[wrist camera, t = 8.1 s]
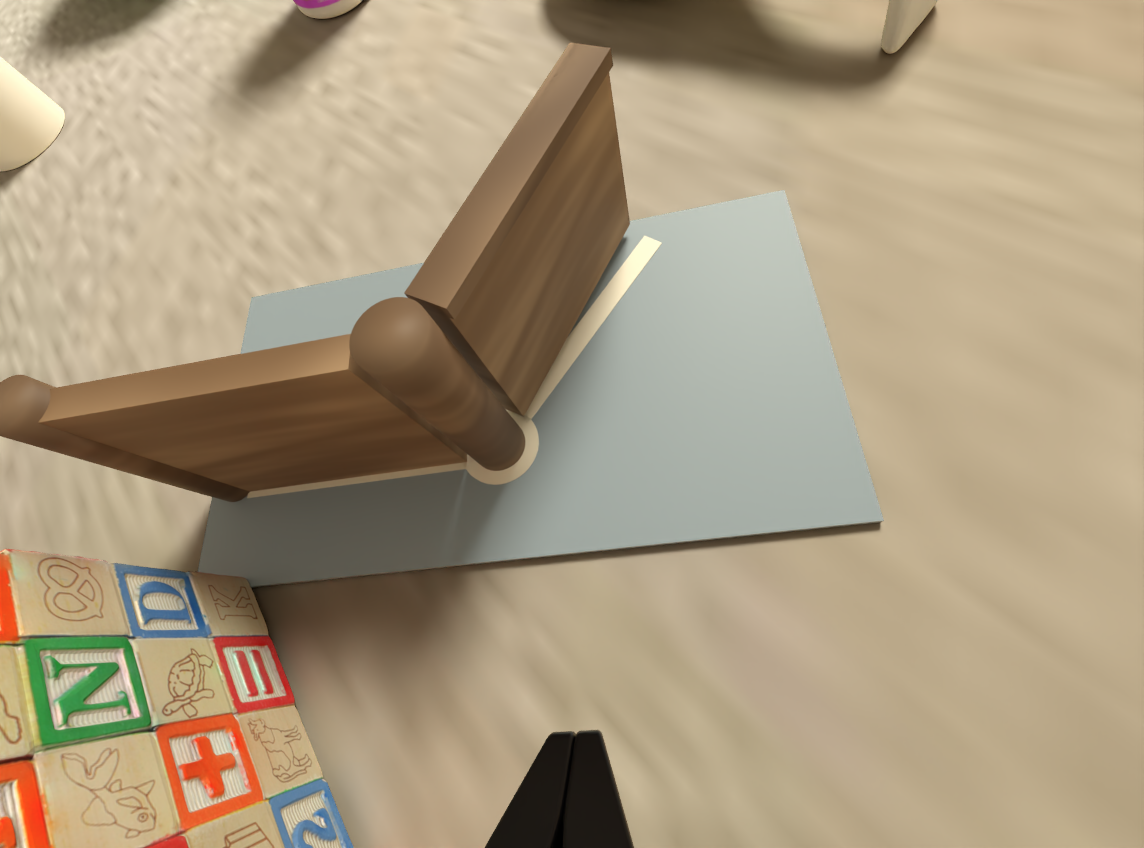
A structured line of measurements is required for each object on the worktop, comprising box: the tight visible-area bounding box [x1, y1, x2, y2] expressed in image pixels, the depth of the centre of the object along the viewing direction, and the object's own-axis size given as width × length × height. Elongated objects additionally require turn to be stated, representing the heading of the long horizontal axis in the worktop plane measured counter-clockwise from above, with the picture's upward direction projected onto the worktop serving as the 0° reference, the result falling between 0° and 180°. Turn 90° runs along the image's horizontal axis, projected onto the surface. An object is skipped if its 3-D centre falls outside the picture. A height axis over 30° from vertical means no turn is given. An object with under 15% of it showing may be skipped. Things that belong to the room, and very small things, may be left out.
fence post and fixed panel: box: [0, 297, 525, 502], centre depth 20 cm, size 2×15×10 cm, turn 94°
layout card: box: [198, 190, 884, 587], centre depth 25 cm, size 16×29×1 cm, turn 94°
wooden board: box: [404, 43, 630, 417], centre depth 21 cm, size 2×11×8 cm, turn 153°
